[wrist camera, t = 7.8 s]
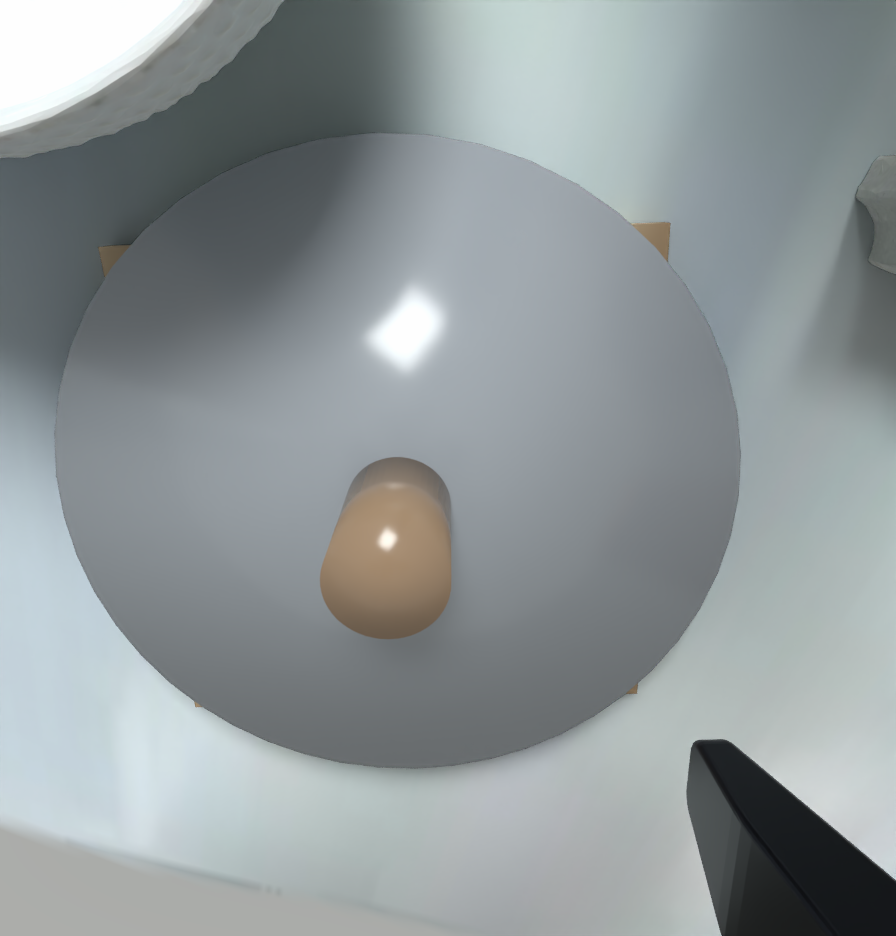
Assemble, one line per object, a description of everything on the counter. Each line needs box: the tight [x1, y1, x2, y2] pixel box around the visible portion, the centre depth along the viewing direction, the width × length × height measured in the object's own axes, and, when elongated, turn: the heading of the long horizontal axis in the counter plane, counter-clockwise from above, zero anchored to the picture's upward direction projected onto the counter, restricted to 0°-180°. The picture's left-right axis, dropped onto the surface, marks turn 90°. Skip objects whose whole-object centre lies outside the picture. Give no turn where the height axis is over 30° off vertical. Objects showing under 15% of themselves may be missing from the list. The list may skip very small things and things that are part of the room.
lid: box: [55, 133, 741, 768], centre depth 17 cm, size 18×18×5 cm
